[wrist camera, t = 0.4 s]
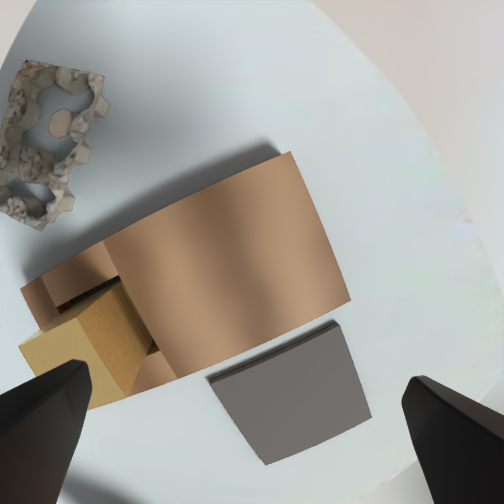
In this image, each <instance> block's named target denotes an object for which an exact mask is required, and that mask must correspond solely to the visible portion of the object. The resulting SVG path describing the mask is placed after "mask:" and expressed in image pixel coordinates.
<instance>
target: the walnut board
mask: <svg viewBox="0 0 504 504" xmlns="http://www.w3.org/2000/svg"><path fill="white" fill-rule="evenodd" d="M117 275H119V276H120V278H121V280H122V282H123V284H124V286H125V288H126V290H127V292H128V294H129V296H130V298H131V300H132V301H133V303H134V305H135V307H136V309H137V311H138V313H139V314H140V316H141V318H142V320H143V322H144V323H145V325H146V327H147V329H148V330H149V332H150V334H151V336H152V337H153V339H154V341H155V343H153V344H151V346H150V348H149V350H148V352H147V354H146V356H145V358H144V360H143V363H142V365H141V367H140V369H139V371H138V374H137V376H136V378H135V380H134V382H133V385H132V387H131V389H130V391H129V394H128V396H127V397H129V396H132V395H135V394H138V393H141V392H144V391H146V390H149V389H152V388H155V387H158V386H160V385H163V384H166V383H169V382H171V381H174V380H177V379H179V378H182V377H184V376H187V375H190V374H192V373H195V372H197V371H200V370H202V369H205V368H207V367H210V366H212V365H214V364H217V363H219V362H222V361H224V360H226V359H229V358H231V357H234V356H236V355H238V354H241V353H243V352H245V351H247V350H250V349H252V348H254V347H256V346H259V345H261V344H263V343H265V342H268V341H270V340H272V339H274V338H276V337H278V336H281V335H283V334H285V333H287V332H289V331H291V330H293V329H295V328H297V327H300V326H302V325H304V324H306V323H308V322H310V321H312V320H314V319H316V318H318V317H320V316H322V315H324V314H326V313H328V312H330V311H332V310H334V309H336V308H338V307H339V306H341V305H343V304H345V303H347V302H349V301H351V298H350V296H349V293H348V290H347V287H346V285H345V282H344V279H343V277H342V274H341V271H340V269H339V266H338V263H337V261H336V258H335V255H334V253H333V250H332V248H331V245H330V243H329V240H328V238H327V235H326V233H325V230H324V228H323V225H322V223H321V220H320V218H319V216H318V213H317V211H316V208H315V206H314V204H313V201H312V199H311V197H310V194H309V192H308V190H307V187H306V185H305V183H304V180H303V178H302V176H301V174H300V171H299V169H298V167H297V165H296V163H295V160H294V158H293V156H292V154H291V152H290V151H289V152H287V153H284V154H282V155H279V156H277V157H275V158H272V159H270V160H267V161H265V162H263V163H260V164H258V165H256V166H253V167H251V168H249V169H246V170H244V171H242V172H240V173H237V174H235V175H233V176H231V177H228V178H226V179H224V180H222V181H219V182H217V183H215V184H213V185H211V186H209V187H206V188H204V189H202V190H200V191H198V192H196V193H194V194H192V195H189V196H187V197H185V198H183V199H181V200H179V201H177V202H175V203H173V204H171V205H169V206H167V207H165V208H163V209H161V210H159V211H157V212H155V213H153V214H151V215H149V216H147V217H145V218H143V219H141V220H139V221H137V222H135V223H133V224H132V225H130V226H128V227H126V228H124V229H122V230H120V231H118V232H117V233H115V234H113V235H111V236H109V237H107V238H105V239H104V240H102V241H100V242H98V243H96V244H95V245H93V246H91V247H89V248H88V249H86V250H84V251H82V252H80V253H79V254H77V255H75V256H74V257H72V258H70V259H68V260H67V261H65V262H63V263H62V264H60V265H58V266H57V267H55V268H53V269H51V270H50V271H48V272H47V273H45V274H43V275H42V276H40V277H38V278H37V279H35V280H34V281H32V282H30V283H29V284H27V285H26V286H24V287H22V288H21V289H20V290H21V292H22V294H23V296H24V298H25V300H26V302H27V305H28V307H29V309H30V311H31V313H32V314H33V316H34V318H35V320H36V322H37V324H38V326H39V328H40V329H41V328H43V327H44V326H45V325H47V324H48V323H49V322H51V321H52V320H53V319H55V318H56V317H58V316H59V315H60V314H62V313H63V312H64V311H66V310H67V309H69V308H70V307H71V306H72V305H71V303H70V301H69V300H71V299H73V298H74V297H76V296H78V295H80V294H82V293H84V292H86V291H88V290H90V289H92V288H94V287H96V286H98V285H100V284H101V283H103V282H105V281H107V280H109V279H111V278H113V277H115V276H117Z"/></svg>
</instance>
